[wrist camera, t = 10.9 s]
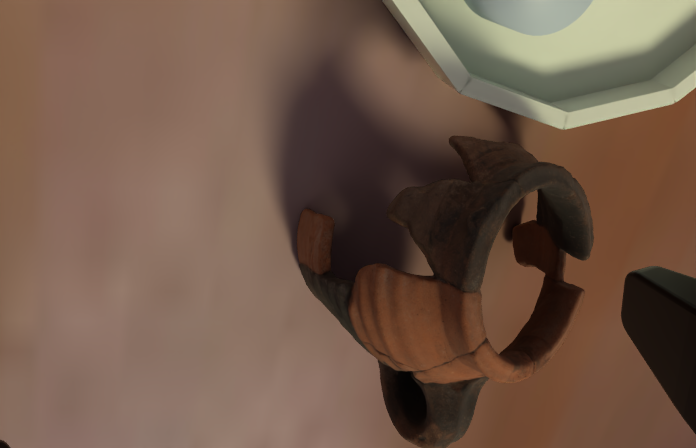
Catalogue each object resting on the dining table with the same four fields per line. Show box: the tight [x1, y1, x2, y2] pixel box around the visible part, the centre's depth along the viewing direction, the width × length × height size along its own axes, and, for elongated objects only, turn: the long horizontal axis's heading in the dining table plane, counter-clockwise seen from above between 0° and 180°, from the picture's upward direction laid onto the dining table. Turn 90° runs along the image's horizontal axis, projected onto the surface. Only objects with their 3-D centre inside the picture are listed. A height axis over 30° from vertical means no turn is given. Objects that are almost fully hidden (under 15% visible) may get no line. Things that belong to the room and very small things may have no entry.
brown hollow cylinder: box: [297, 136, 594, 448], centre depth 21 cm, size 12×10×8 cm
